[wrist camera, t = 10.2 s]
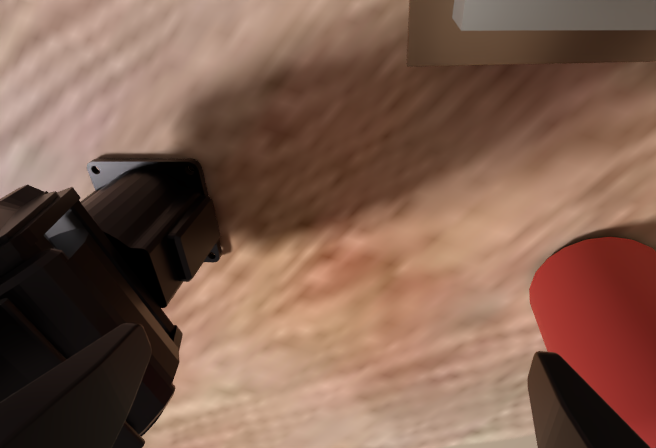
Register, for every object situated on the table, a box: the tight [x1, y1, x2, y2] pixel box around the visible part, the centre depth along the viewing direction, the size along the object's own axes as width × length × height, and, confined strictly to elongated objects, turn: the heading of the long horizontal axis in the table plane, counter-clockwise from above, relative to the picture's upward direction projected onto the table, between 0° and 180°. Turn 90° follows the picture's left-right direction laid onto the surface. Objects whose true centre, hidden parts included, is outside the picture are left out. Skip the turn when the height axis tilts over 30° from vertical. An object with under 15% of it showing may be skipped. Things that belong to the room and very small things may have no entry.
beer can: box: [529, 237, 656, 448], centre depth 18 cm, size 7×7×12 cm
